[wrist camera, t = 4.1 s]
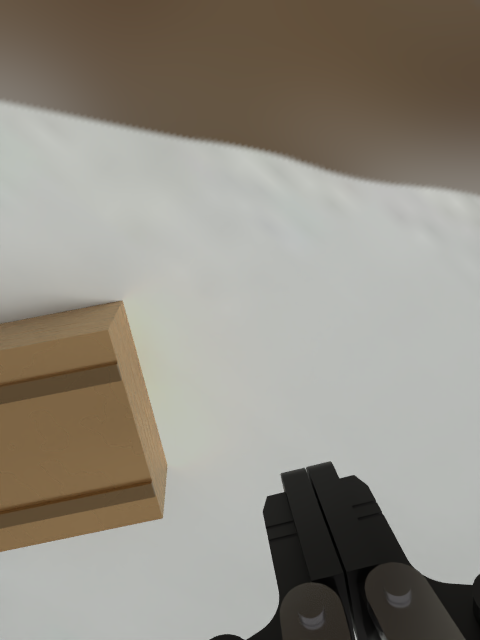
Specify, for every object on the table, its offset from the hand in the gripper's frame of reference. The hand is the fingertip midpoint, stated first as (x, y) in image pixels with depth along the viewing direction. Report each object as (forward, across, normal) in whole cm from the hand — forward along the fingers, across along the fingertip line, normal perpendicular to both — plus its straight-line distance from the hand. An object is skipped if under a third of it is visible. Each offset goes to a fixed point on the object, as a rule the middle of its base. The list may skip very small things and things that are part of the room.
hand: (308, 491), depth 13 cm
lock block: (+10, +10, 0) cm, 14 cm away
